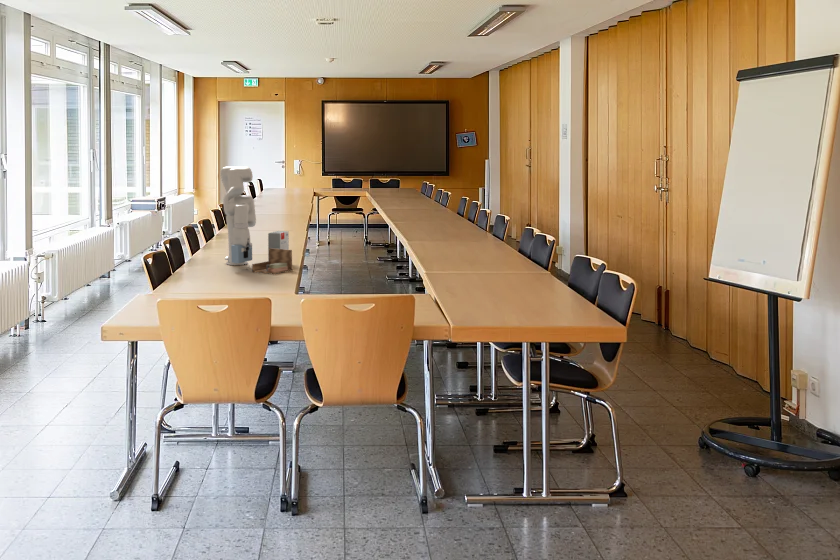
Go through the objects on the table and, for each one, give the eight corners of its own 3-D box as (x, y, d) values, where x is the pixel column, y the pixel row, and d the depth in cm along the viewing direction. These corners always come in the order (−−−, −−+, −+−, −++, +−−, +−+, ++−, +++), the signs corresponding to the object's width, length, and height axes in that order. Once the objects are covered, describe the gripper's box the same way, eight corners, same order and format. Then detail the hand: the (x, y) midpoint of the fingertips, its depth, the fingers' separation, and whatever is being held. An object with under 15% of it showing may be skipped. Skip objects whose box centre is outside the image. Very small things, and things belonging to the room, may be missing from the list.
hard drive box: (280, 267, 520) (279, 233, 516) (268, 266, 521) (267, 233, 518) (289, 263, 535) (288, 230, 531) (277, 262, 536) (276, 230, 533)
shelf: (252, 271, 500) (251, 251, 498) (270, 268, 513) (270, 248, 511) (274, 274, 492) (274, 253, 490) (292, 270, 506) (291, 249, 504)
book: (231, 262, 502) (231, 245, 500) (245, 259, 513) (245, 242, 511) (238, 263, 500) (238, 246, 498) (252, 260, 510) (252, 243, 508)
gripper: (225, 225, 503) (226, 256, 507) (248, 228, 495) (249, 259, 499) (234, 223, 509) (235, 254, 513) (257, 226, 501) (257, 257, 505)
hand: (242, 256), depth 506 cm, fingers closed on book, 5 cm apart
